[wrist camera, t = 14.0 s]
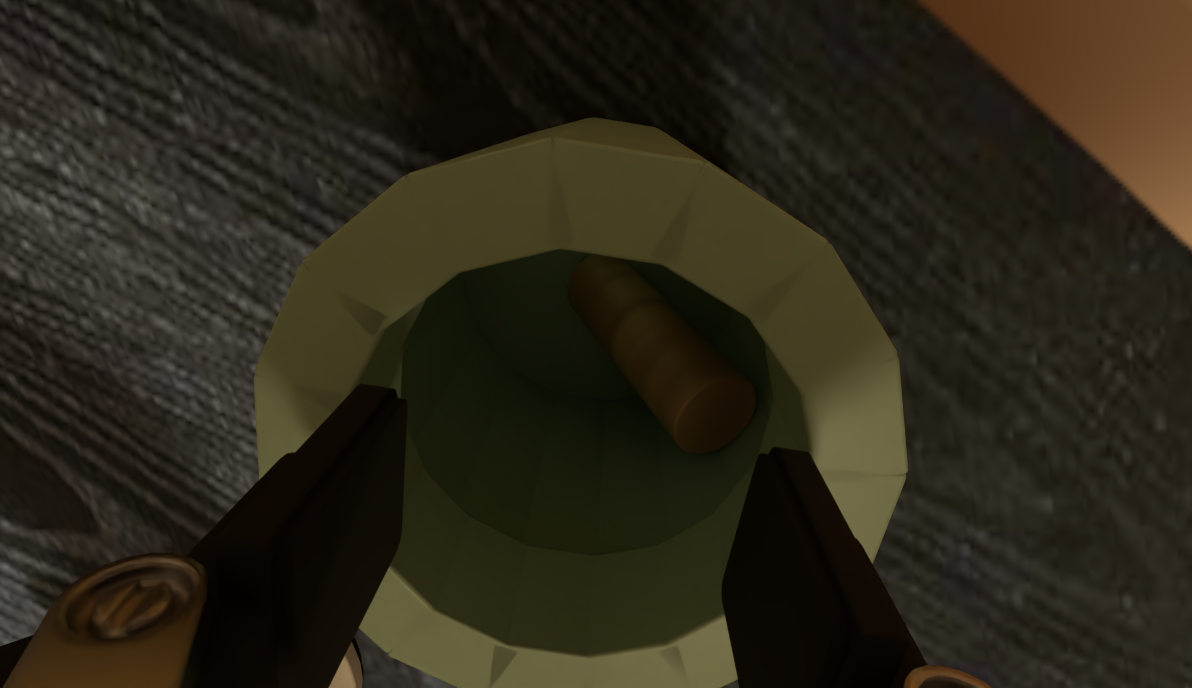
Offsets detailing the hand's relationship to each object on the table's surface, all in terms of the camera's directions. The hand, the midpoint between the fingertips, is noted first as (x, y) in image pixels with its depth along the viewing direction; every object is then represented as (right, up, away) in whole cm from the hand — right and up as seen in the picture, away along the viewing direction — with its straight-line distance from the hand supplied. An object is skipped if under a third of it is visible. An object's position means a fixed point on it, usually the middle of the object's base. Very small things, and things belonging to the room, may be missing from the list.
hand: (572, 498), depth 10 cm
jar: (+1, +5, +13) cm, 15 cm away
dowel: (+1, +5, +12) cm, 13 cm away
